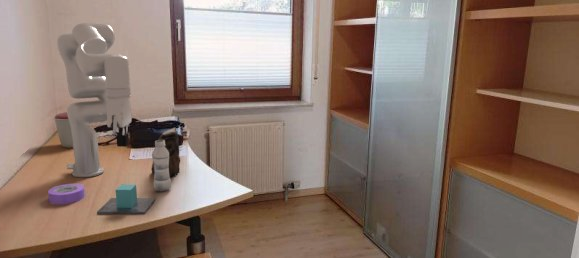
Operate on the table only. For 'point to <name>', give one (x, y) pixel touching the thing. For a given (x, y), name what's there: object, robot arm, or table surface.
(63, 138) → the canister
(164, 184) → the plastic bottle
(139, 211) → the dark grey base plate
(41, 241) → the table surface
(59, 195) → the masking tape
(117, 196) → the teal rounded cube
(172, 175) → the owl
